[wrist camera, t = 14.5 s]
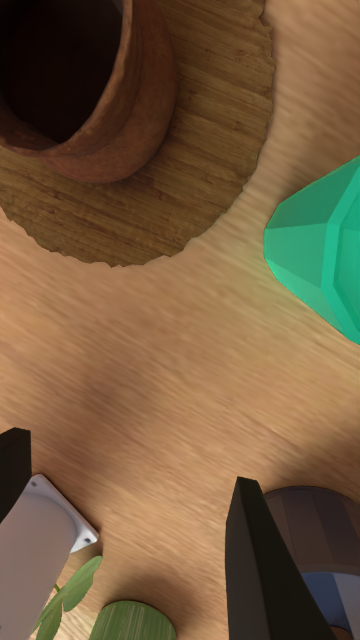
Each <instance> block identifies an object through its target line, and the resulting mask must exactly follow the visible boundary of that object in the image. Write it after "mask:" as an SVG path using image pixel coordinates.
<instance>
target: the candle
mask: <svg viewBox="0 0 360 640" xmlns="http://www.w3.org/2000/svg"><path fill="white" fill-rule="evenodd" d="M264 258H265V260H266V262H267V264H268V265H269V267H270V269H271V270H272V272H273V274H274V276H275V277H276V279H277V280H278V281H279V282H280V283H282V284H283V285H284V286H285V287H286V288H288V289H289V290H290V291H291V292H292V293H294V294H295V295H296V296H297V297H298V298H299V299H301V300H302V301H303V302H304V303H305V304H307V305H308V306H309V307H310V308H311V309H313V310H314V311H315V312H316V313H317V314H319V315H320V316H321V317H322V318H323V319H325V320H326V321H327V322H328V323H329V324H331V325H332V326H333V327H334V328H335V329H337V330H338V331H339V332H340V333H341V334H343V335H344V336H345V337H346V338H347V339H349V340H351V341H353V342H355V343H357V344H359V345H360V155H359V156H357V157H355V158H354V159H352V160H350V161H348V162H347V163H345V164H343V165H342V166H340V167H338V168H336V169H335V170H333V171H331V172H329V173H328V174H326V175H324V176H323V177H321V178H319V179H317V180H316V181H314V182H312V183H310V184H309V185H307V186H305V187H304V188H302V189H301V190H299V191H298V192H296V193H295V194H293V195H292V196H290V197H289V198H287V199H286V200H284V201H283V202H281V203H279V205H278V207H277V208H276V210H275V212H274V214H273V215H272V217H271V219H270V221H269V223H268V224H267V226H266V228H265V230H264Z"/></svg>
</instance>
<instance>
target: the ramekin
mask: <svg viewBox="0 0 360 640" xmlns="http://www.w3.org/2000/svg"><path fill="white" fill-rule="evenodd" d="M89 640H176V634H175V630H174V627H173V625H172V623H171V622H170V621H169V620H168V618H167V617H166V616H165V615H164V614H162V613H161V612H160V611H158V610H157V609H155V608H153V607H151V606H149V605H146V604H144V603H140V602H136V601H117V602H114V603H111V604H109V605H107V606H106V607H105V608H103V609H102V611H101V612H100V613H99V615H98V617H97V620H96V622H95V625H94V627H93V630H92V632H91V635H90V638H89Z"/></svg>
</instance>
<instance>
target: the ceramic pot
mask: <svg viewBox="0 0 360 640" xmlns="http://www.w3.org/2000/svg"><path fill="white" fill-rule="evenodd" d="M265 1H266V0H0V206H1V208H2V209H3V211H4V212H5V214H6V216H7V218H8V219H9V220H10V221H12V220H14V221H15V222H16V223H17V224H18V225H20V226H21V227H23V228H24V229H25V231H26V232H27V234H28V236H31V237H33V238H34V239H35V241H36V242H37V244H38V245H40V246H41V247H43V248H45V249H47V250H49V251H50V252H59V253H61V254H62V255H63V256H72V257H75V258H77V259H78V260H80V261H82V262H85V263H93V262H106V263H107V264H108V265H109V266H110V267H111V268H112V267H114V266H116V265H118V264H119V265H121V266H122V267H125V266H128V265H132V264H135V265H144V264H145V263H147V262H148V261H150V260H153V259H155V258H158V257H160V256H163V255H165V256H169V257H171V256H173V255H175V254H177V253H179V252H181V251H183V249H184V247H185V245H186V243H187V242H188V241H189V240H190V239H191V238H193V237H197V236H199V235H200V234H201V233H203V232H204V231H205V230H207V229H208V228H209V227H211V226H212V225H213V223H214V222H215V221H216V219H217V218H218V217H219V215H220V213H221V211H223V212H225V213H226V212H227V210H228V209H229V208H230V206H231V205H232V203H233V201H234V200H235V198H236V196H238V195H239V194H240V193H241V192H242V188H243V184H244V183H245V182H247V179H248V177H249V176H250V175H251V174H252V173H253V172H254V171H255V169H256V166H257V162H256V157H257V154H258V152H259V150H260V148H261V146H262V145H263V144H264V143H265V141H266V133H265V128H266V123H267V122H268V121H269V120H270V119H271V116H272V112H273V107H272V101H271V81H272V75H273V73H274V71H275V69H276V67H275V60H274V59H273V58H272V57H271V56H270V54H271V51H272V41H271V38H270V37H269V33H270V30H271V27H272V26H271V25H270V24H268V26H267V28H266V27H264V26H263V25H262V23H261V21H260V20H259V18H258V17H259V16H260V15H261V13H262V12H263V8H264V4H265Z"/></svg>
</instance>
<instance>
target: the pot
mask: <svg viewBox="0 0 360 640" xmlns="http://www.w3.org/2000/svg"><path fill="white" fill-rule="evenodd" d="M264 498H265V500H266V503H267V505H268V507H269V510H270V512H271V514H272V516H273V519H274V521H275V523H276V525H277V527H278V530H279V532H280V534H281V536H282V538H283V540H284V542H285V544H286V546H287V548H288V550H289V552H290V554H291V556H292V558H293V560H294V562H295V564H296V565H300V564H309V563H335V564H345V565H350V566H355V567H360V506H359V505H358V504H357V503H355V502H354V501H352V500H351V499H349V498H347V497H346V496H344V495H342V494H339V493H337V492H334V491H331V490H328V489H324V488H319V487H312V486H293V487H285V488H281V489H277V490H274V491H271V492H269V493H267V494H265V495H264Z"/></svg>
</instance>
